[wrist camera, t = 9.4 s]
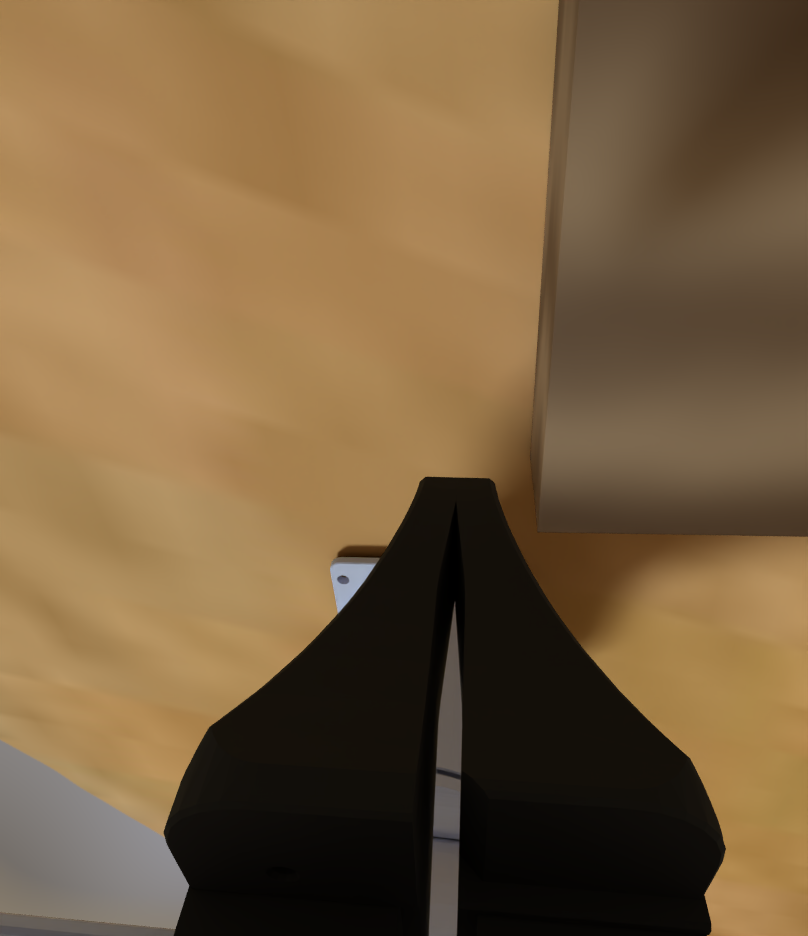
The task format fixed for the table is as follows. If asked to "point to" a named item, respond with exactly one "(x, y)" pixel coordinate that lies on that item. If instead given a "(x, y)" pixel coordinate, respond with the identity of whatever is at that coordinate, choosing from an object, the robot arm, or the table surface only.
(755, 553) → the table surface
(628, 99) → the brown flat block
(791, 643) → the table surface
